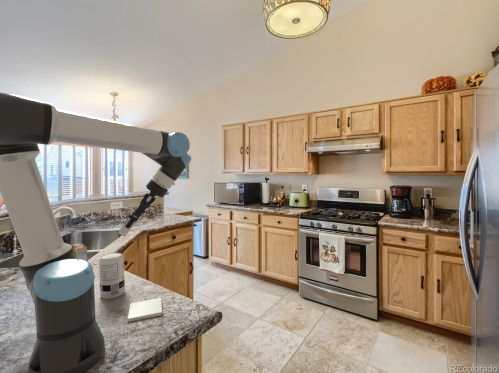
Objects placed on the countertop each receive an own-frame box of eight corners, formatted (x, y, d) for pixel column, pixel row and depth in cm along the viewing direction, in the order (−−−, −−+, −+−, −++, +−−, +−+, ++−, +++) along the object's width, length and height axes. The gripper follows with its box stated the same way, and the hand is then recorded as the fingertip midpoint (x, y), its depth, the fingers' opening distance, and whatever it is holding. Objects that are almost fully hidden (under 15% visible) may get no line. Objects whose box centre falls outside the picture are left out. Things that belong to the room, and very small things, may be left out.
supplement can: (95, 297, 93) (93, 257, 92) (116, 288, 100) (114, 251, 100) (109, 302, 89) (107, 260, 89) (129, 292, 97) (128, 254, 96)
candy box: (73, 278, 111) (71, 244, 110) (84, 275, 114) (83, 242, 113) (77, 284, 104) (75, 248, 104) (89, 281, 107) (87, 246, 107)
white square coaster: (162, 314, 81) (162, 311, 80) (127, 321, 77) (127, 318, 77) (161, 300, 90) (161, 297, 90) (130, 306, 86) (130, 303, 86)
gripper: (167, 194, 84) (127, 245, 83) (170, 186, 108) (139, 226, 107) (147, 181, 82) (106, 233, 81) (155, 175, 106) (123, 216, 105)
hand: (125, 229), depth 94 cm, fingers open, 13 cm apart
